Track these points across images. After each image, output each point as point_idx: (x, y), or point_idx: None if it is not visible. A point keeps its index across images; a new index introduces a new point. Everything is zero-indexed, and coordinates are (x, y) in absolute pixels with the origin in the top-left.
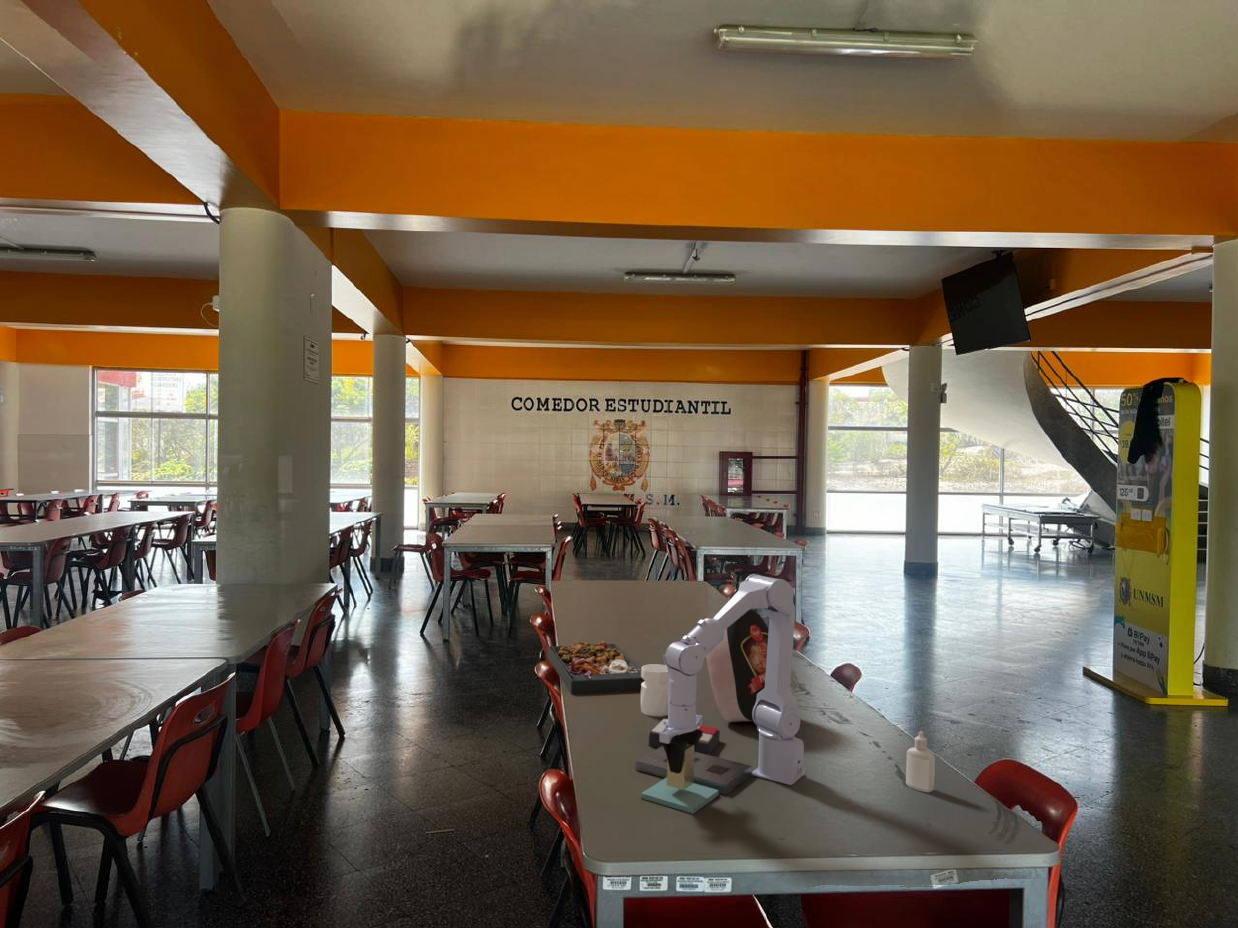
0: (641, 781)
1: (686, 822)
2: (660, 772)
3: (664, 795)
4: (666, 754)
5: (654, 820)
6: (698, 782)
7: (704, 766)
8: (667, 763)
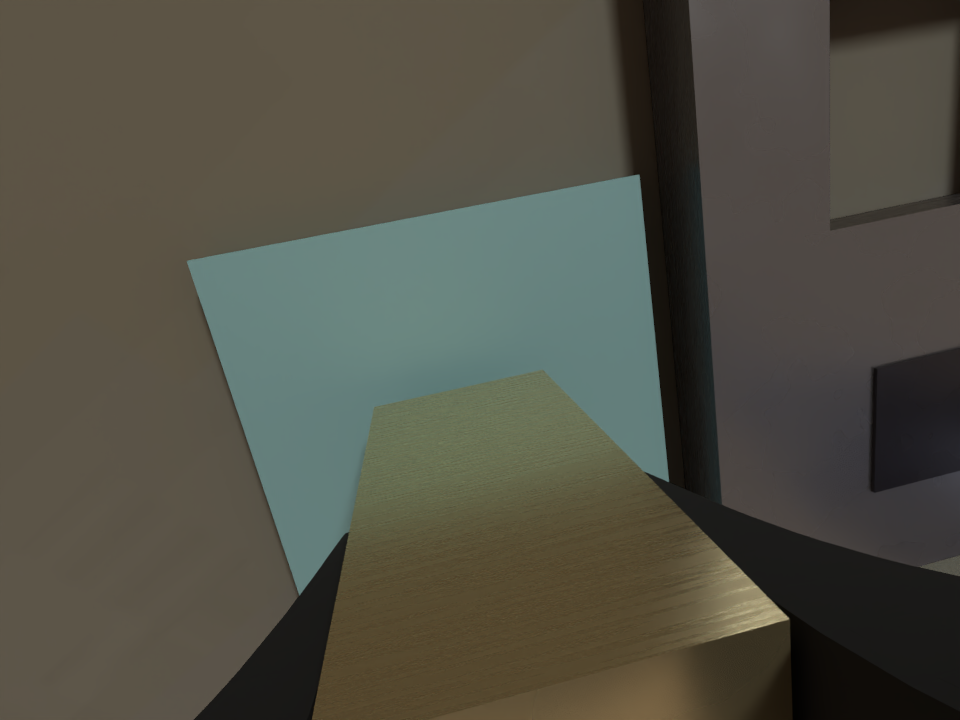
0: (452, 13)
1: (206, 696)
2: (665, 54)
3: (320, 417)
4: (212, 705)
5: (36, 577)
6: (695, 413)
7: (932, 308)
8: (357, 508)
